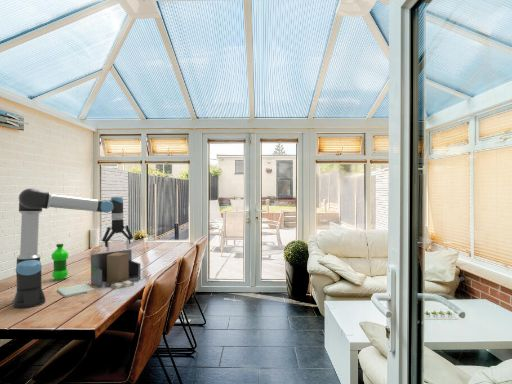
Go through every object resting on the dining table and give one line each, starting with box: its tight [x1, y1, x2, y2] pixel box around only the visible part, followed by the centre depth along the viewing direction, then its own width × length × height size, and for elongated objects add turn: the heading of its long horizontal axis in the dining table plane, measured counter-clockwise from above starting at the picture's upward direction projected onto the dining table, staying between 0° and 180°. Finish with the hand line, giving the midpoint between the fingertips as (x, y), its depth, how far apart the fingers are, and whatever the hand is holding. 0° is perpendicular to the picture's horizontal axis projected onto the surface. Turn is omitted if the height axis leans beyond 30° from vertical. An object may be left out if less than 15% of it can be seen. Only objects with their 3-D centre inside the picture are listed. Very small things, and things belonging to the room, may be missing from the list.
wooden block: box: [106, 253, 130, 283], centre depth 229 cm, size 10×10×20 cm
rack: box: [90, 248, 142, 288], centre depth 230 cm, size 28×19×20 cm
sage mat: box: [56, 283, 96, 298], centre depth 212 cm, size 17×18×1 cm
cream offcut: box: [110, 281, 135, 290], centre depth 219 cm, size 12×7×2 cm, turn 138°
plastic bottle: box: [51, 243, 69, 281], centre depth 241 cm, size 10×10×25 cm
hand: (118, 250), depth 229 cm, fingers open, 13 cm apart
